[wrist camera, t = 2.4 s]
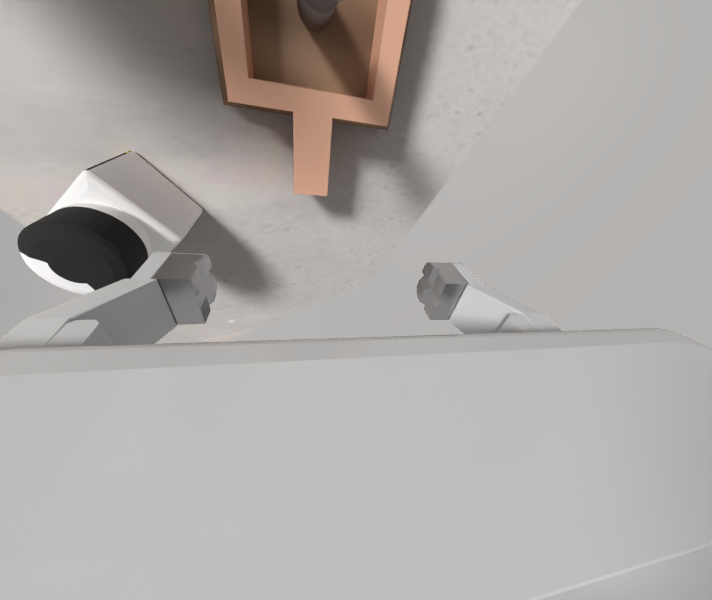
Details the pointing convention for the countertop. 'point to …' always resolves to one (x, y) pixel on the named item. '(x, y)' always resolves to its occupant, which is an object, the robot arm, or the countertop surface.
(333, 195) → the countertop surface
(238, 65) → the frame
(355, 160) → the countertop surface
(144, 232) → the medicine bottle
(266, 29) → the stand
